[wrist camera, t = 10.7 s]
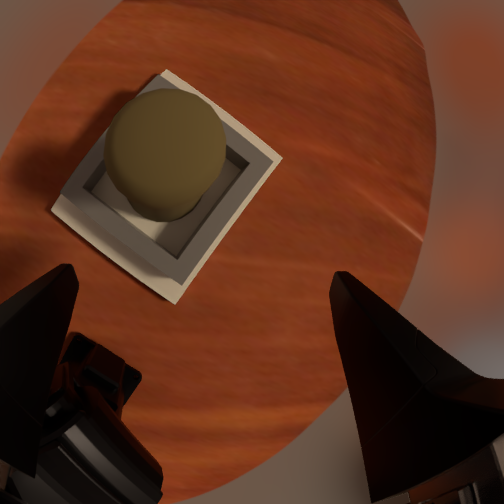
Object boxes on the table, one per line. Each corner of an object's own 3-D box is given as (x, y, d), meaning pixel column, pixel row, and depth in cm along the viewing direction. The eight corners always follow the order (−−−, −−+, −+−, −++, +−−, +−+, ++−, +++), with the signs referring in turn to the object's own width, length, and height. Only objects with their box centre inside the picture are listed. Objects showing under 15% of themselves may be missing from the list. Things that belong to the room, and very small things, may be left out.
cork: (109, 198, 19) (56, 172, 9) (151, 127, 20) (144, 46, 9) (180, 237, 21) (196, 248, 10) (220, 165, 21) (272, 112, 11)
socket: (174, 301, 22) (176, 314, 19) (55, 210, 19) (37, 208, 15) (278, 160, 24) (296, 151, 20) (166, 74, 20) (167, 53, 17)
